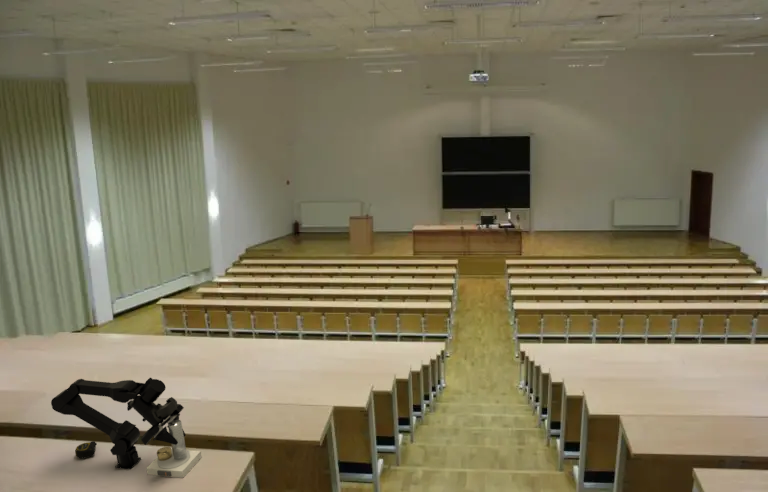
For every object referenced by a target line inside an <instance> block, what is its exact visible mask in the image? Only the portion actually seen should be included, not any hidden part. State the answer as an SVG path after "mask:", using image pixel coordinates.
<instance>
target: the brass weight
mask: <svg viewBox="0 0 768 492" xmlns="http://www.w3.org/2000/svg"><path fill="white" fill-rule="evenodd" d="M171 449H172V447H169V446H164V447H160V448H159V449H157V451H156V455H157V457H158V460H159V461H165V460H168V459H170V458H171V457H172V452H171ZM157 457H156V458H157Z"/></svg>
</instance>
